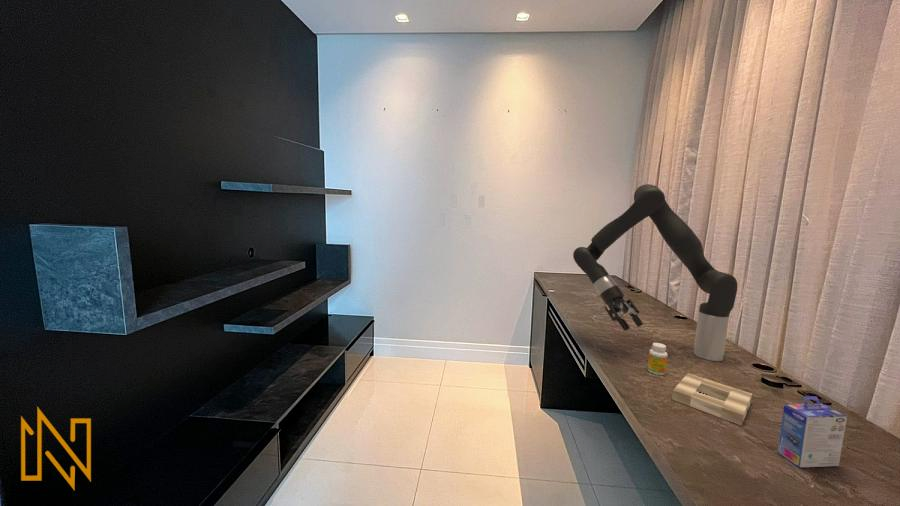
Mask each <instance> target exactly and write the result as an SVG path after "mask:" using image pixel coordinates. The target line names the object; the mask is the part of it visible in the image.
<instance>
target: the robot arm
mask: <svg viewBox="0 0 900 506" xmlns="http://www.w3.org/2000/svg"><path fill="white" fill-rule="evenodd" d="M633 201H634V202H633V203H632V204H631V205H630V207H629V208H628V209H627V210H626V211H624V212H623V213H622V214H621V215H620V216H618V217H616V218H615V219H613V220H611V221H610V222H609V223H607V224H606V225H605V226H603V227H602V228H601V229H600V230H599V231H598V232H596V234H594V235H593V236H592V238H591V239H590V241H591V242H590V243H589V245H588V246H587V247H585V246H579V247H577V248H575V249H574V250H573V253H572V256H573V260H574V262H575V264H576V265H577V267H579V268H580V269H581V271H582V272H583V273H584V274H585V275H586V276H587V277H588V280H590V282H591V283H592V284H593V287H594V289H595V290H596V292H597V294H598V295H599V297H600V298H601V299H602V301H603V302H604V304H605V305H606V306H604V309H605V311H606V312H607V314H608V315H609V317H610V319H611V320H612V322H616V323H619V325H620V326H621V328H622V329H623V331H629V329H631V327H630V325H629V324H628V322H627V321H626V319H625V318H624V315H626V316H629V317H630V318H631V320H632V321H633V322H634V324H635V325H636V326H637V328H639V327H641V326H643V325H644V323H643V321H642V320H641V318H640V317H639V316H638V315H639V313H640V310H639V309H638V308H637V306H636V305H635V304H634V303H633V301H632V300H631V299H627V300H625V299H624V297H625V293H624V292H623V291H622V290H621V288H620V286H618V284H617V283H616V281H615V280H614V279H613V278H612V276H611V275H610V273H608V271H607V270H606V268H605V267H604V266H603V265H602V264H600V263H599V262H597V261H598V260H599V259H600V258H601V256H602V255H603V254H604V252H605V251H606V250H607V249H608V248H610V247H611V246H612V245H613V244H614V243H615V242H616V241H617V240H619V239H620V238H621V237H622V236H623V235H624V234H626V233H627V232H628V231H629V230H631V229H632V228H633V227H635V226H636V225H638V224H639V223H640V222H642V221H643V220H645V219H647V218H648V217H649V218H650V220H652V223H654V225H655V227H656V228H657V231H658V232H659V234H660V235H661V237H662V239H663V241H664V242H665V243H666V244H667V246H668V247H669V248H670V250H671V251H672V252H673V253H674V255H676V256H677V258H678V259H679V260H680V261H681V263H682V264H683V266H684V267H686V269H687V270H688V271H689V273H690V275H691V276H692V277H693V279H694V281H695V282H696V284H697V286H698V287H699V289H700V290H702V291H703V292H704V293H706V294H708V299H707V301H706V302H702V303H700V305H699V309H698V315H697V323H696V330H695V331H696V332H695V339H694V345H693V346H694V347H693V355H695V357H697V358H700V359H704V360H706V361H712V362H722V361H724V355H725V348H726V340H727V335H728V326H729V319H730V316H731V315H730V313H731V312H732V310H733V309H734V306H735V302H736V298H737V295H738V294H737V292H738V286H739V285H738V280H737V279H736V277H735V276H733V275H732V274H730V273H727V272H722V271H719V270H717V269H715V268H714V266H712V264H711V263H710V262H709V261H708V260H707V259H706V256H705V253H704V248H703V247H704V246H703V244H702V241H701V240H700V239H699V237H698V236H697V234H696V233H695V232H694V231H693V230H692V228H691V227H690V226H689V225H688V224H687V222H685V221H684V220H683V219H682V218H681V217H680V216H679V215H678V214H677V213H676V212H675V211H674V210H673V209H672V207H671V206H670V205H669V204H668V202H667V200H666V196H665V193H664V192H663V191H662V190H661V189H660V188H659V187H658V186H656V185H654V184H649V183H647V184H642V185H640V186H638V187H637V188H636V189H635V191H634V194H633Z"/></svg>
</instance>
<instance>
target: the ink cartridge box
mask: <svg viewBox="0 0 900 506" xmlns="http://www.w3.org/2000/svg"><path fill="white" fill-rule="evenodd" d="M811 400H812V401H815V402H816V403H808V401H811ZM802 401H803V403H795V404H783V411H782V419H781V426H780V433H779V441H778V448H777V453H778V454H780V455H781V456H782V457H784V458H785V459H786V460H788V461H789V462H790V463H793V464H794V465H795V466H797V467H798V468H819V467H821V468H822V467H823V468H824V467H839V466H840V462H841V461H840V459H841V455H842V450H843V449H842V448H843V443H844V437H845V431H846V425H847V419H848V418H847V417H848V416H847V414H844V413H842V412H840V411H838V410H836V409H834V408H832V407H831V406H828V405H826V404H824V403H822V402H820V400H819V399H818V396H817V395H815V396H814V395H813V396H812V395H810V396H808V395H805V396H804V395H803V396H802Z"/></svg>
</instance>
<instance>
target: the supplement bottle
mask: <svg viewBox="0 0 900 506" xmlns="http://www.w3.org/2000/svg"><path fill="white" fill-rule="evenodd" d="M666 351H667V345H665V344H664V343H660V342H653V343H652V345H651V348H650V349H649V352H648V358H647V360H648V361H647V371H648V372H649V373H651V374H654V375H658V376H663V375H665V374H666V369H667V362H668V352H666Z"/></svg>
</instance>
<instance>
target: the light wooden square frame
mask: <svg viewBox="0 0 900 506" xmlns="http://www.w3.org/2000/svg"><path fill="white" fill-rule="evenodd" d="M699 392H701V393H699ZM703 393H704V394H703ZM706 394H707V395H706ZM752 396H753V393H750V392H748V391H744V390H742V389H738V388H735V387H733V386H729V385H726V384H723V383H719V382H717V381H715V380H710V379H707V378H704V377H700V376H699V375H694V374H692V373H688V372H687V373H686V374H685V375H684V377H683V378H682V379H681V380H680V382H679V383H678V384H677V385H676V386H675V387H674V388H673V390H672V395H671V397H672V398H671V400H673V401H675V402H678V403H680V404H683V405H685V406H688V407H691V408H694V409H696V410H699V411H701V412H705V413H706V414H709V415H712V416H715V417H718V418H720V419H723V420H725V421H728V422H730V423H732V424H733V423H734V424H736V425H738V426H743V423H744V420H745V418H746V416H747V413H748V411H749V408H750V406H751V403H752Z"/></svg>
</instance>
